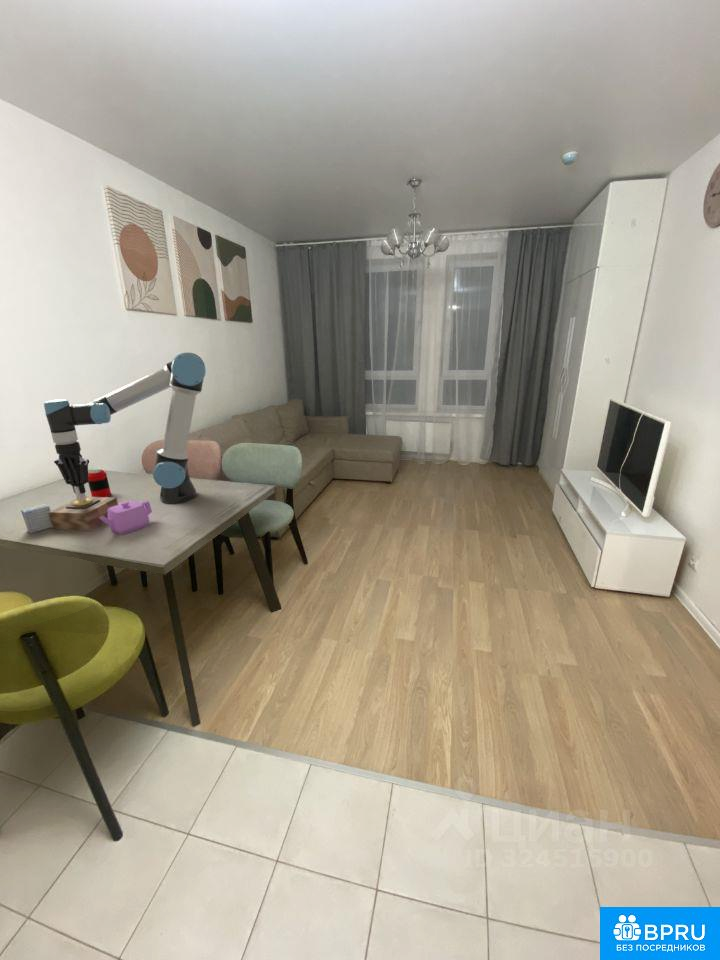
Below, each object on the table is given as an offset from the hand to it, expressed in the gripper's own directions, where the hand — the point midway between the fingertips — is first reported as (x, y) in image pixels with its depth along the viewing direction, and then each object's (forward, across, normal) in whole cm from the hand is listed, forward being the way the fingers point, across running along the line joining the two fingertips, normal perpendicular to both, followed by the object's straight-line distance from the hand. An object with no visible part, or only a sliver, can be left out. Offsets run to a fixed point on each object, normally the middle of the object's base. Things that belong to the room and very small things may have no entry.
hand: (82, 500), depth 156 cm
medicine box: (+9, +13, +8) cm, 18 cm away
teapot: (+9, -21, +4) cm, 23 cm away
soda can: (+9, +15, -26) cm, 31 cm away
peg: (+9, 0, 0) cm, 9 cm away
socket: (+9, 0, 0) cm, 9 cm away
